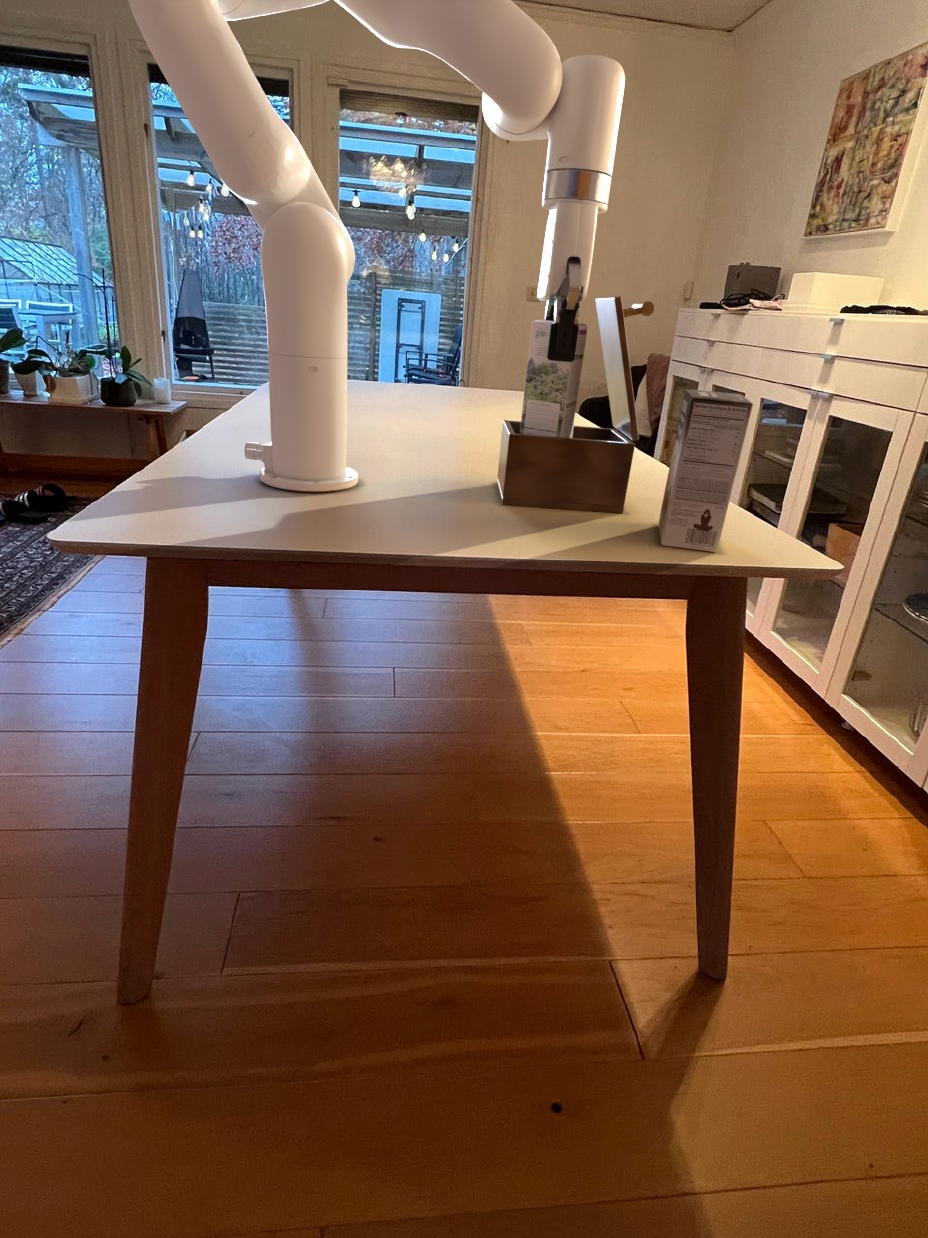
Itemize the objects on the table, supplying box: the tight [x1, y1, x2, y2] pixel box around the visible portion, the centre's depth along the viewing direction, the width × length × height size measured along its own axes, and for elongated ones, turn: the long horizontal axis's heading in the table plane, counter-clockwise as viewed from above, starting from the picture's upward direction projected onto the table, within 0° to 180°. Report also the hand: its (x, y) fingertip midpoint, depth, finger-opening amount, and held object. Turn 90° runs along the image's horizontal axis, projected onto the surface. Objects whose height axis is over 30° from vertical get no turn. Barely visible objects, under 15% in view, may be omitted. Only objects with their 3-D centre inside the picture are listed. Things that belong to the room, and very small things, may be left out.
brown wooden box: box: [496, 419, 636, 514], centre depth 92 cm, size 16×12×9 cm
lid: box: [595, 295, 656, 442], centre depth 87 cm, size 16×12×5 cm
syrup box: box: [520, 319, 588, 438], centre depth 88 cm, size 6×6×14 cm
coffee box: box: [658, 388, 754, 553], centre depth 77 cm, size 9×6×16 cm
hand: (555, 357), depth 86 cm, fingers closed on syrup box, 7 cm apart
